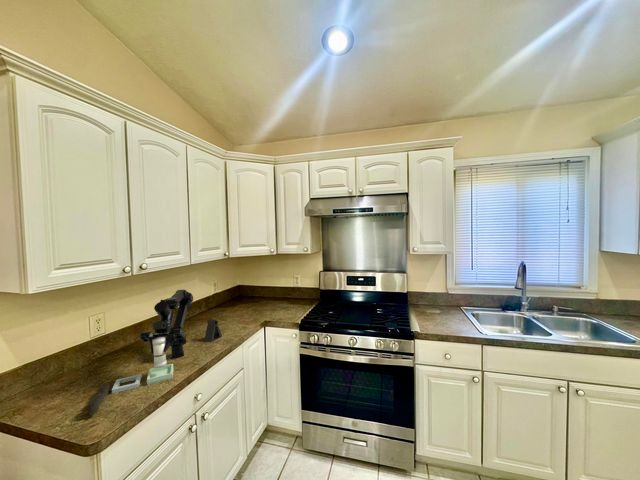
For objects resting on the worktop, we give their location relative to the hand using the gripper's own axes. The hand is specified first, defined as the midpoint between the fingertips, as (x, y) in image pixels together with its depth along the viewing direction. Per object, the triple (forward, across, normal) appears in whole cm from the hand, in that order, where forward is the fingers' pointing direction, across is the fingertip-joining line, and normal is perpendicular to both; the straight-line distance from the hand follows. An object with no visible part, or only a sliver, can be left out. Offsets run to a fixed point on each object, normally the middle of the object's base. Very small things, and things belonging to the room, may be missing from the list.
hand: (158, 352), depth 127 cm
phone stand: (-22, +15, +40) cm, 48 cm away
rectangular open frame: (+10, -12, +6) cm, 17 cm away
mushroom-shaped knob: (+4, 0, +6) cm, 7 cm away
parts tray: (+8, 0, +9) cm, 12 cm away
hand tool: (+20, -16, -2) cm, 26 cm away
